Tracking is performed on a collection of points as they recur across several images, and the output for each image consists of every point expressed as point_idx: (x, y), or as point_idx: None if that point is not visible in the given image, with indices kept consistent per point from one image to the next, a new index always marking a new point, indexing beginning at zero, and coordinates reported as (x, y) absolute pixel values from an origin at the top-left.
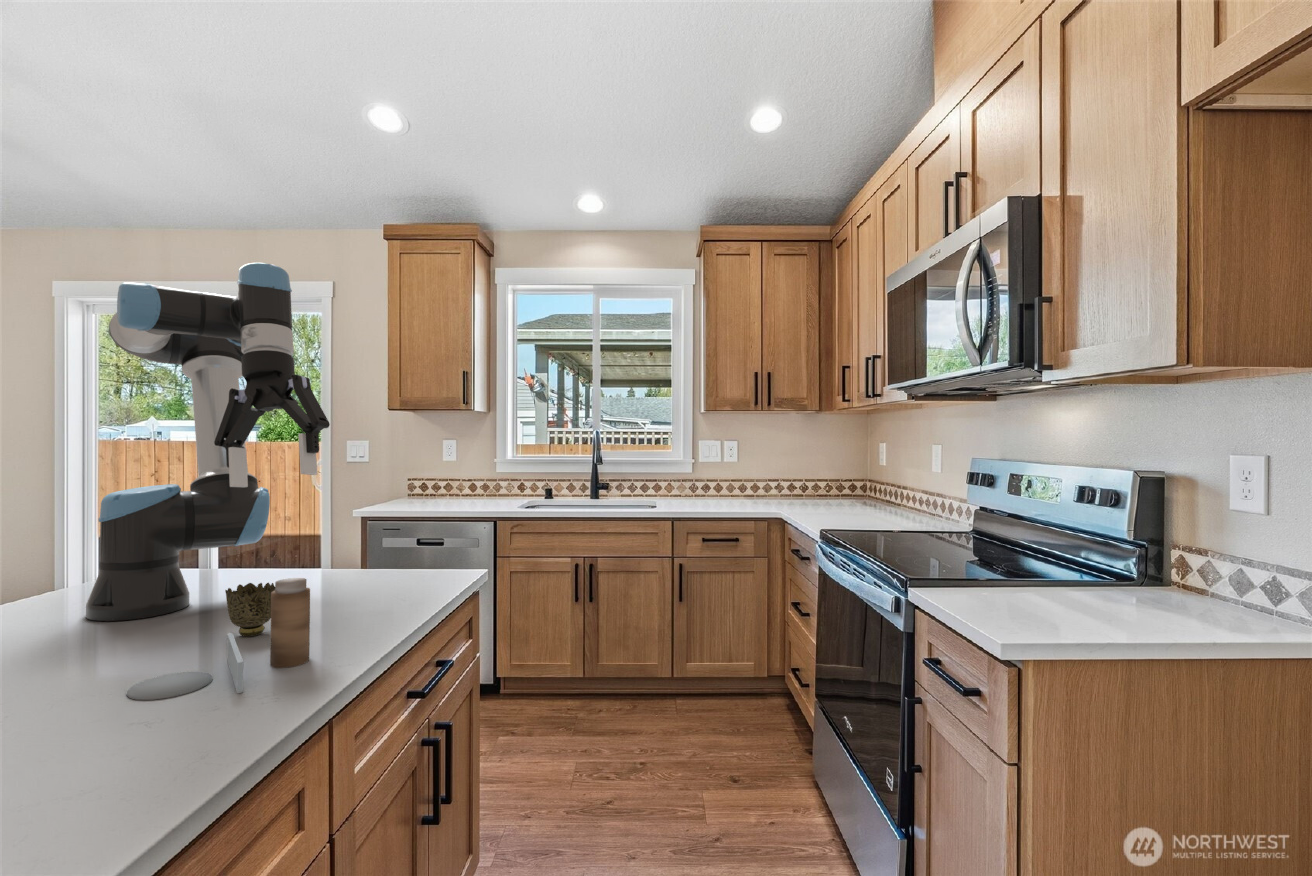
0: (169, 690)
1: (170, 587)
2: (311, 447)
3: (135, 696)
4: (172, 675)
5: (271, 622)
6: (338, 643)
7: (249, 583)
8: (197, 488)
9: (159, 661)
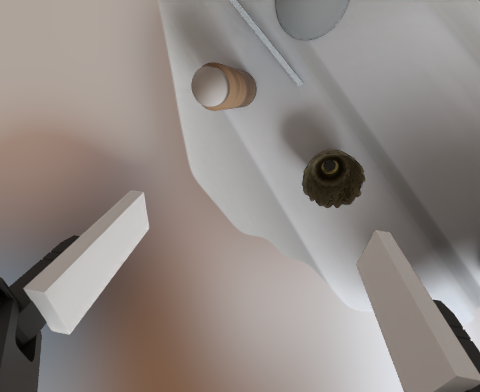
0: None
1: None
2: (61, 245)
3: None
4: (327, 20)
5: (237, 71)
6: (228, 144)
7: (350, 203)
8: None
9: (380, 68)
